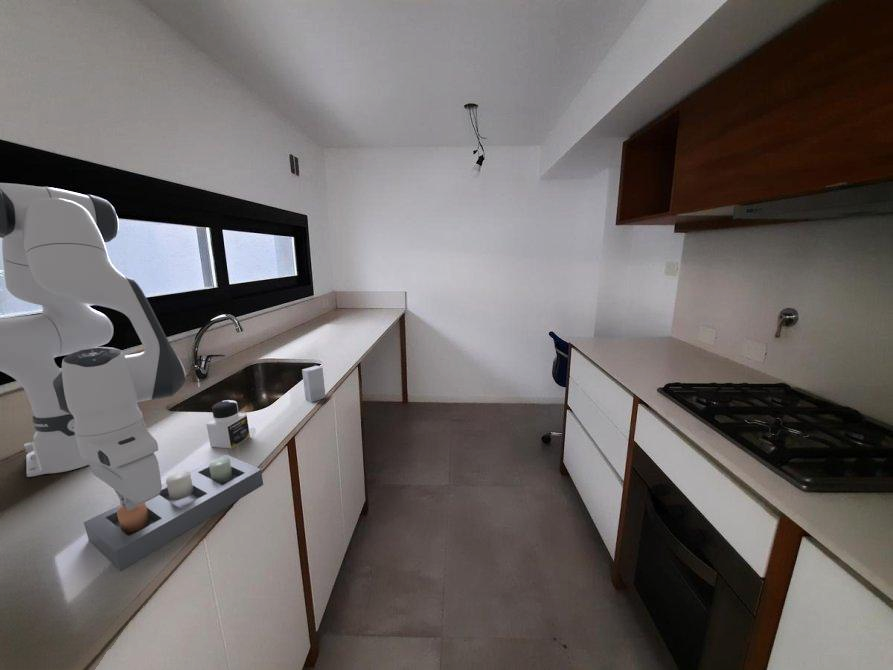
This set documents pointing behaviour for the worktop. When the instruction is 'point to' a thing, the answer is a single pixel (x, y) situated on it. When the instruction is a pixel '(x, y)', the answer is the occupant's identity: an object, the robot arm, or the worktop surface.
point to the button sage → (221, 470)
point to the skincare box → (313, 383)
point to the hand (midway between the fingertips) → (130, 506)
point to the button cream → (179, 485)
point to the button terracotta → (133, 518)
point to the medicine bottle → (227, 425)
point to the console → (171, 514)
